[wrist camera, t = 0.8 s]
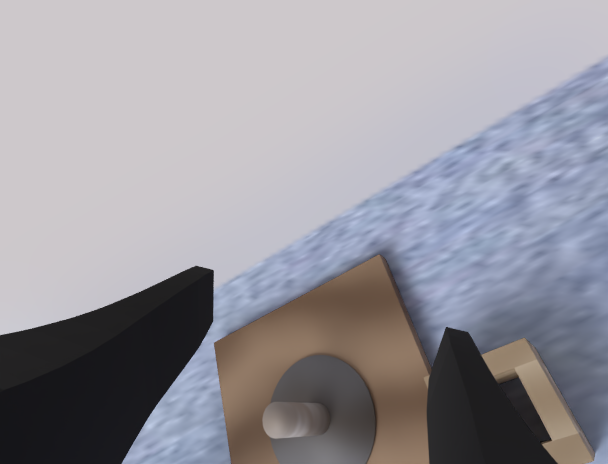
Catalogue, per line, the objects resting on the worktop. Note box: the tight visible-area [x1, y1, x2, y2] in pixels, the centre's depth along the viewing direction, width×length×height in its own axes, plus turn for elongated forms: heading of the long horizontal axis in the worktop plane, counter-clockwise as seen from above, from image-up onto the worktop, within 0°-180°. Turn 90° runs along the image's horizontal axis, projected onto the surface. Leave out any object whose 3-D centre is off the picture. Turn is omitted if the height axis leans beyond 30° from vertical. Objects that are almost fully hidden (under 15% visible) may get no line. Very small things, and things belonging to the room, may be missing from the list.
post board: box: [214, 254, 432, 464], centre depth 25 cm, size 16×15×6 cm
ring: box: [424, 338, 595, 464], centre depth 20 cm, size 5×5×4 cm
